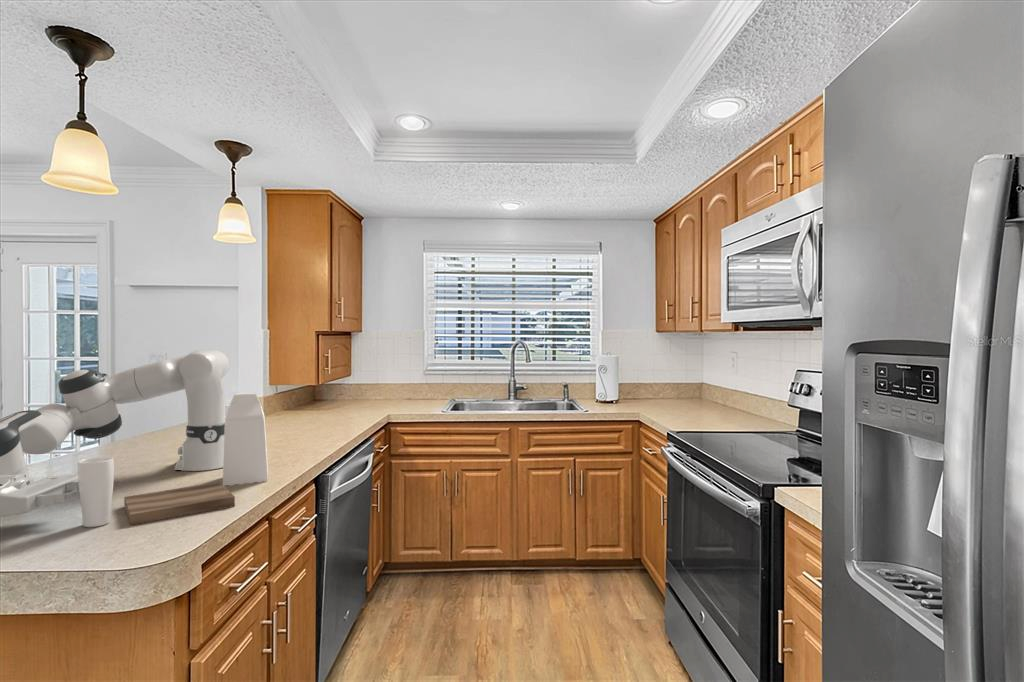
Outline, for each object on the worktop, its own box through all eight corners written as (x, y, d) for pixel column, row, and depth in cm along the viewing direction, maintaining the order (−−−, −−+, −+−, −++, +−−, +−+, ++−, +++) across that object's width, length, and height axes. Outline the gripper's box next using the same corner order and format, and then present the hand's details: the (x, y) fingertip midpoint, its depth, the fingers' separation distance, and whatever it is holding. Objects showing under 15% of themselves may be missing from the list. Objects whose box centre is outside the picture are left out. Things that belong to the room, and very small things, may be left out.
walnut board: (124, 506, 141) (124, 496, 141) (219, 490, 155) (219, 482, 155) (130, 525, 127) (130, 514, 127) (234, 506, 141) (234, 496, 141)
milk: (222, 486, 160) (221, 396, 160) (225, 476, 170) (224, 393, 170) (267, 481, 165) (266, 394, 164) (268, 472, 175) (267, 391, 175)
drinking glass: (95, 530, 124) (94, 464, 124) (70, 528, 125) (69, 462, 125) (122, 520, 131) (121, 457, 130) (98, 518, 132) (97, 456, 132)
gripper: (44, 495, 135) (105, 492, 137) (-25, 523, 115) (48, 519, 117) (44, 469, 135) (105, 467, 137) (-25, 493, 115) (48, 490, 117)
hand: (78, 491), depth 127 cm, fingers open, 8 cm apart
